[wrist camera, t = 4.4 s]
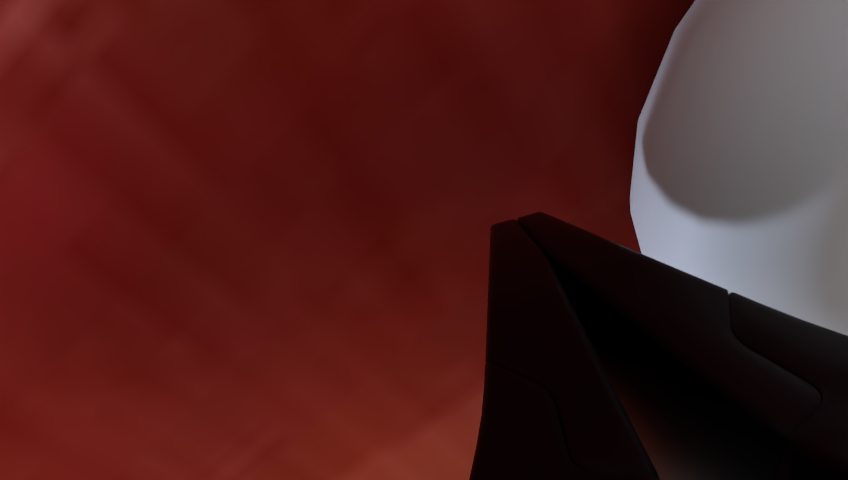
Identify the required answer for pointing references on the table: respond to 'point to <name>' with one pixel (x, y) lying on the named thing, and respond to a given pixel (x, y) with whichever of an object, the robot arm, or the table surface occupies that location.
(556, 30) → the table surface
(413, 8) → the table surface
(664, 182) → the donut
